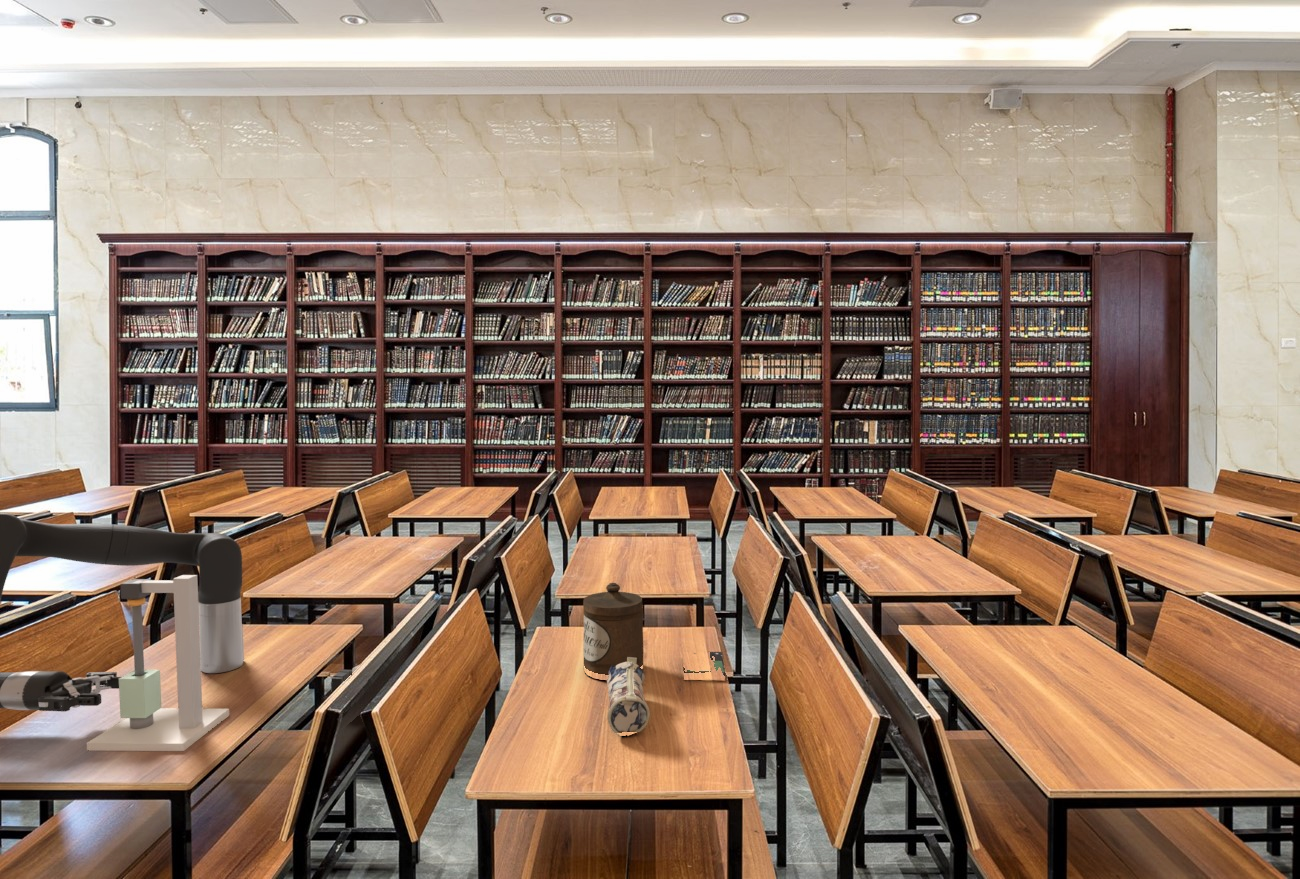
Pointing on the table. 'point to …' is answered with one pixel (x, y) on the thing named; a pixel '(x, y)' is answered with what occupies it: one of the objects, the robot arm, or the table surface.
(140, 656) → the sliding block stand
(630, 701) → the pencil case
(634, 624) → the wooden container
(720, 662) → the disk drive
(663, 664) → the table surface
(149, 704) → the pale green block
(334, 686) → the ink cartridge
